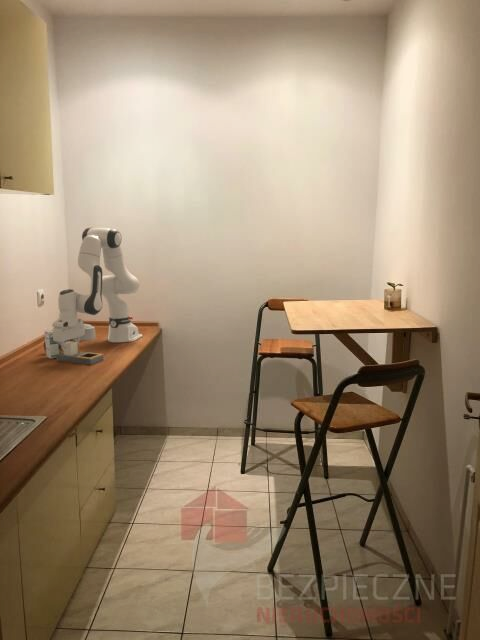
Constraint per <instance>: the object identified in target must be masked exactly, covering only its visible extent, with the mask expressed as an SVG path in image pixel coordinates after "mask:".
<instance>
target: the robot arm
mask: <svg viewBox="0 0 480 640" xmlns="http://www.w3.org/2000/svg"><path fill="white" fill-rule="evenodd" d="M81 239H82V242H81V243H80V248H79V250H78V256H77V265H78V267H79V269H81V270H82V271H83V272H84V273H86V274H87V275H88V276H89V277H90V291H89V294H81V293H78V292H77V291H75V290H74V289H64V290H61V291H60V292H59V293H58V299H57V300H58V301H57V302H58V304H57V305H58V309H59V316H58V317H59V318H57V319H56V320H55V321H54V322H53V323H51V324H52V325H51V326H52V330H53V340H54V342H58V343H60V345H61V347H62V350H65V349H66V346H65V345H64V343H65V342H64V341H67V340H69V341H71V340H73V339H74V338H75V339H76V341H74V342H77V346H79V344H80V341H79V340H80V337H81V336H84V335H85V329H84V324H85V323H84V322H83V320H82V319H81V318H78V313H79V314H88V315H91V316H92V315H93V316H95V315H97V314H98V313H100V312H101V310H102V308H103V299H102V298H103V297H104V298H105V300H106V302H107V305H108V311H109V318H108V322H109V325H108V337H107V340H108V342H110V343H127V342H129V343H131V342H135V341H137V340H138V339H140V338H142V337H143V334H141V333H139V328H138V326H136V325H135V324H134V323H132V321H131V320H133V319H134V317H133V315H132V316H131V315H130V316H129V313H130V312H129V305H128V302H127V301H126V300H124V299H121V297H120V296H119V295H130V294H135V293H137V292H138V291H139V289H140V281H139V279H138V278H137V277H136V276H135V275H133V274H132V273H131V272H130V271H129V270H128V269H127V267H126V264H125V260H124V259H125V258H124V255H123V248H122V244H121V243H122V234H121V232H120V230H118V229H115V228H107V227H88V228H85V229H84V230H83V232H82V234H81ZM101 253H102V255H101ZM101 256H102V258H103V262H104V263H103V264H104V268H105V269H106V270H107V271H109V272H111V273H112V274H113V275H103V269H102V267H101V265H100V264H101V263H100V261H101V260H100V259H101Z"/></svg>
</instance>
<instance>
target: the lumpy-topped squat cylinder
mask: <svg viewBox="0 0 480 640" xmlns="http://www.w3.org/2000/svg"><path fill="white" fill-rule="evenodd" d="M83 324H84V329H85V335H84V336H81V337H80V340H79V342H82V341H83V342H84V341H85V342H86V341H92V340H95V339H96V327H95V326H93V325H91V324H88V323H83ZM72 341H73V342H75V341H76V339H75V338H74V339H72Z"/></svg>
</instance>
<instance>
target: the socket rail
mask: <svg viewBox="0 0 480 640" xmlns="http://www.w3.org/2000/svg"><path fill="white" fill-rule="evenodd" d="M104 360H105V359H104V353H97V352H89V351H88V352H85V351H78V354H76V355H73V356H68V355H64V352H61V354H58V355H57V358H56V361H58V362H64V363H65V362H66V363H73V364H81V365H88V366H91V365H95V364H97V363H101V362H103V361H104Z"/></svg>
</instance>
